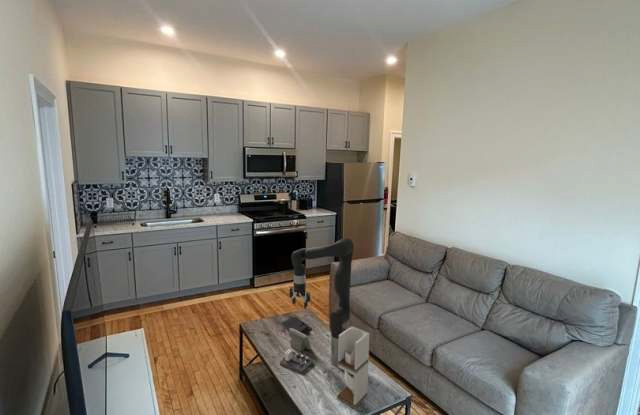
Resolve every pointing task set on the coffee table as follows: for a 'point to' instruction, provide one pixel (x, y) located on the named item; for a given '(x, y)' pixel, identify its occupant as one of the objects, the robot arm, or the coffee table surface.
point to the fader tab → (288, 355)
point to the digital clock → (299, 340)
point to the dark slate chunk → (296, 325)
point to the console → (297, 362)
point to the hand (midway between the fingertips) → (299, 305)
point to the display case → (354, 365)
